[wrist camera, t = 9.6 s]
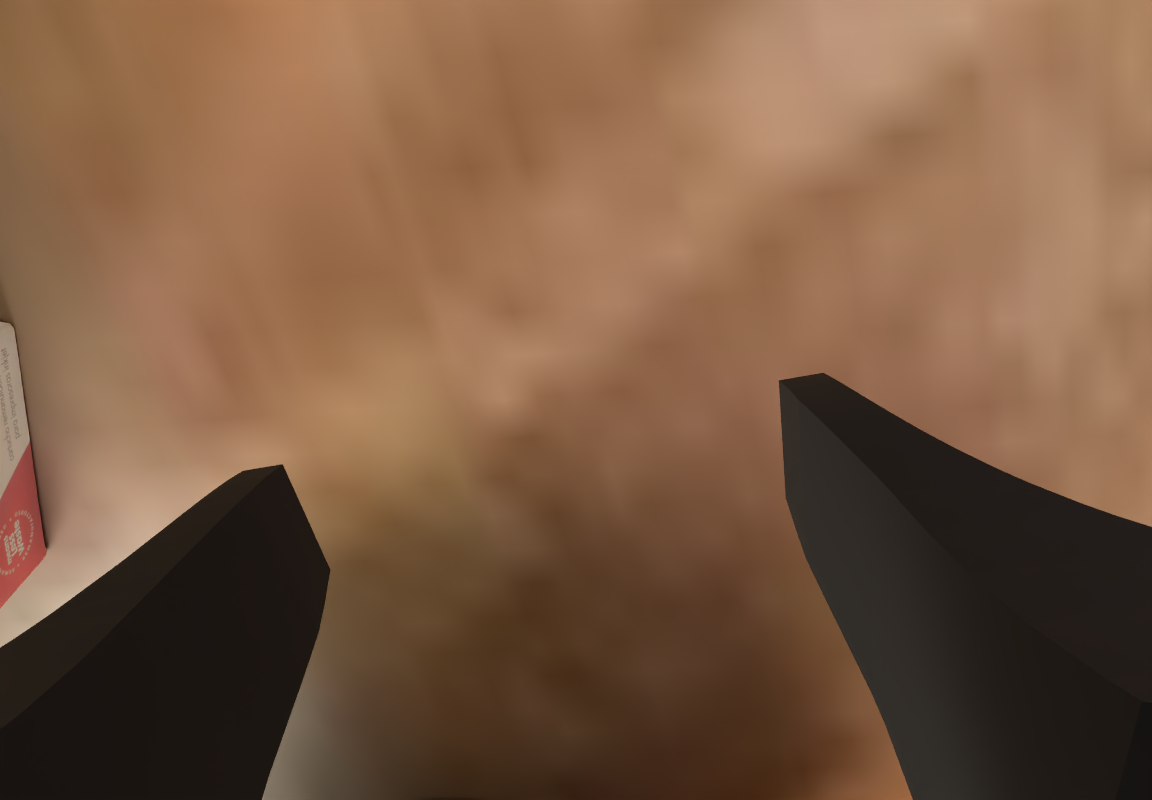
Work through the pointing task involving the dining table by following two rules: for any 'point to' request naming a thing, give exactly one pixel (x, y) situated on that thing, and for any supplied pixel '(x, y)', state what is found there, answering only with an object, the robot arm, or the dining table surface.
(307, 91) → the dining table surface
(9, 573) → the ink cartridge box
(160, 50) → the dining table surface
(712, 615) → the dining table surface
